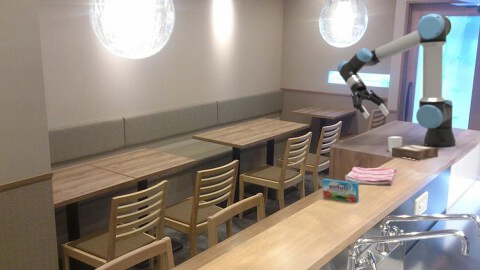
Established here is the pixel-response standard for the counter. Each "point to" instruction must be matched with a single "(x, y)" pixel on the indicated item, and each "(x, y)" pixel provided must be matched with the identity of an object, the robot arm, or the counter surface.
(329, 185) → the blue flat box
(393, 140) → the white cup
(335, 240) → the counter surface
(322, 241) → the counter surface
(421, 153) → the block
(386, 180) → the dish towel
